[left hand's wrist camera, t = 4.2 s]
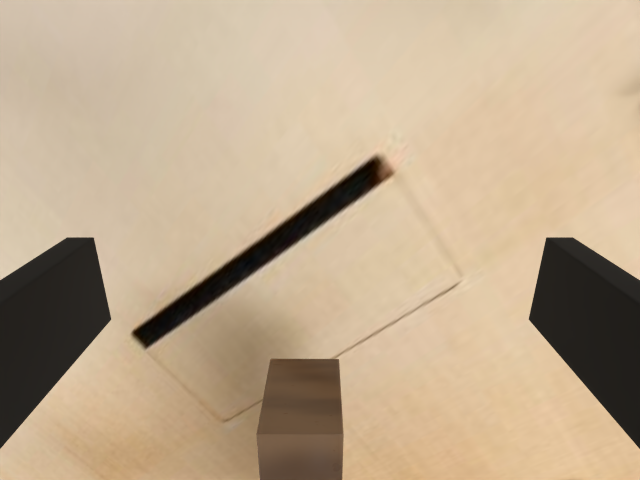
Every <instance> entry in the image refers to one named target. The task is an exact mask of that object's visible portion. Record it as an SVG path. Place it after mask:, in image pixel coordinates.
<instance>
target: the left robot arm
mask: <svg viewBox="0 0 640 480" xmlns="http://www.w3.org/2000/svg"><path fill="white" fill-rule="evenodd" d="M110 320H111V316H110V312H109V307H108V302H107V298H106V293H105V288H104V284H103V279H102V274H101V270H100V265H99V260H98V256H97V251H96V246H95V242H94V238H66V239H64V240H63V241H61V242H60V243H58V244H56V245H55V246H53V247H52V248H50V249H49V250H47V251H45V252H44V253H42V254H41V255H39V256H38V257H36V258H35V259H33V260H31V261H30V262H28V263H27V264H25V265H24V266H22V267H20V268H19V269H17V270H16V271H14V272H13V273H11V274H10V275H8V276H6V277H5V278H3V279H2V280H0V448H1V447H2V446H3V445H4V444H5V443H6V441H7V440H8V439H9V438H10V437H11V436H12V434H13V433H14V432H15V431H16V430H17V429H18V427H19V426H20V425H21V424H22V423H23V422H24V420H25V419H26V418H27V417H28V416H29V415H30V413H31V412H32V411H33V410H34V409H35V408H36V406H37V405H38V404H39V403H40V402H41V401H42V399H43V398H44V397H45V396H46V395H47V394H48V392H49V391H50V390H51V389H52V388H53V387H54V385H55V384H56V383H57V382H58V381H59V380H60V378H61V377H62V376H63V375H64V374H65V373H66V371H67V370H68V369H69V368H70V367H71V366H72V364H73V363H74V362H75V361H76V360H77V359H78V357H79V356H80V355H81V354H82V353H83V352H84V350H85V349H86V348H87V347H88V346H89V345H90V343H91V342H92V341H93V340H94V339H95V338H96V337H97V335H98V334H99V333H100V332H101V331H102V330H103V328H104V327H105V326H106V325H107V324H108V323H109V321H110ZM529 320H530V321H531V323H532V324H533V325H534V326H535V327H536V328H537V330H538V331H539V332H540V333H541V334H542V335H543V337H544V338H545V339H546V340H547V341H548V342H549V344H550V345H551V346H552V347H553V348H554V349H555V350H556V352H557V353H558V354H559V355H560V356H561V357H562V359H563V360H564V361H565V362H566V363H567V364H568V366H569V367H570V368H571V369H572V370H573V371H574V373H575V374H576V375H577V376H578V377H579V378H580V380H581V381H582V382H583V383H584V384H585V385H586V387H587V388H588V389H589V390H590V391H591V392H592V394H593V395H594V396H595V397H596V398H597V399H598V401H599V402H600V403H601V404H602V405H603V406H604V408H605V409H606V410H607V411H608V412H609V413H610V415H611V416H612V417H613V418H614V419H615V420H616V422H617V423H618V424H619V425H620V426H621V427H622V429H623V430H624V431H625V432H626V433H627V434H628V436H629V437H630V438H631V439H632V440H633V441H634V443H635V444H636V445H637V446H638V447H639V448H640V280H638V279H637V278H635V277H634V276H632V275H630V274H629V273H627V272H626V271H624V270H623V269H621V268H620V267H618V266H616V265H615V264H613V263H612V262H610V261H609V260H607V259H605V258H604V257H602V256H601V255H599V254H598V253H596V252H595V251H593V250H591V249H590V248H588V247H587V246H585V245H584V244H582V243H580V242H579V241H577V240H576V239H574V238H546V242H545V246H544V251H543V256H542V260H541V265H540V270H539V274H538V279H537V284H536V288H535V293H534V298H533V302H532V307H531V312H530V316H529Z"/></svg>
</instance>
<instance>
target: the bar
mask: <svg viewBox="0 0 640 480" xmlns="http://www.w3.org/2000/svg"><path fill="white" fill-rule="evenodd" d="M257 445H258V458H259V472H260V480H342V467H343V419H342V402H341V385H340V368H339V359H271V360H270V365H269V370H268V375H267V381H266V386H265V392H264V397H263V403H262V408H261V413H260V419H259V424H258V430H257Z"/></svg>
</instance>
